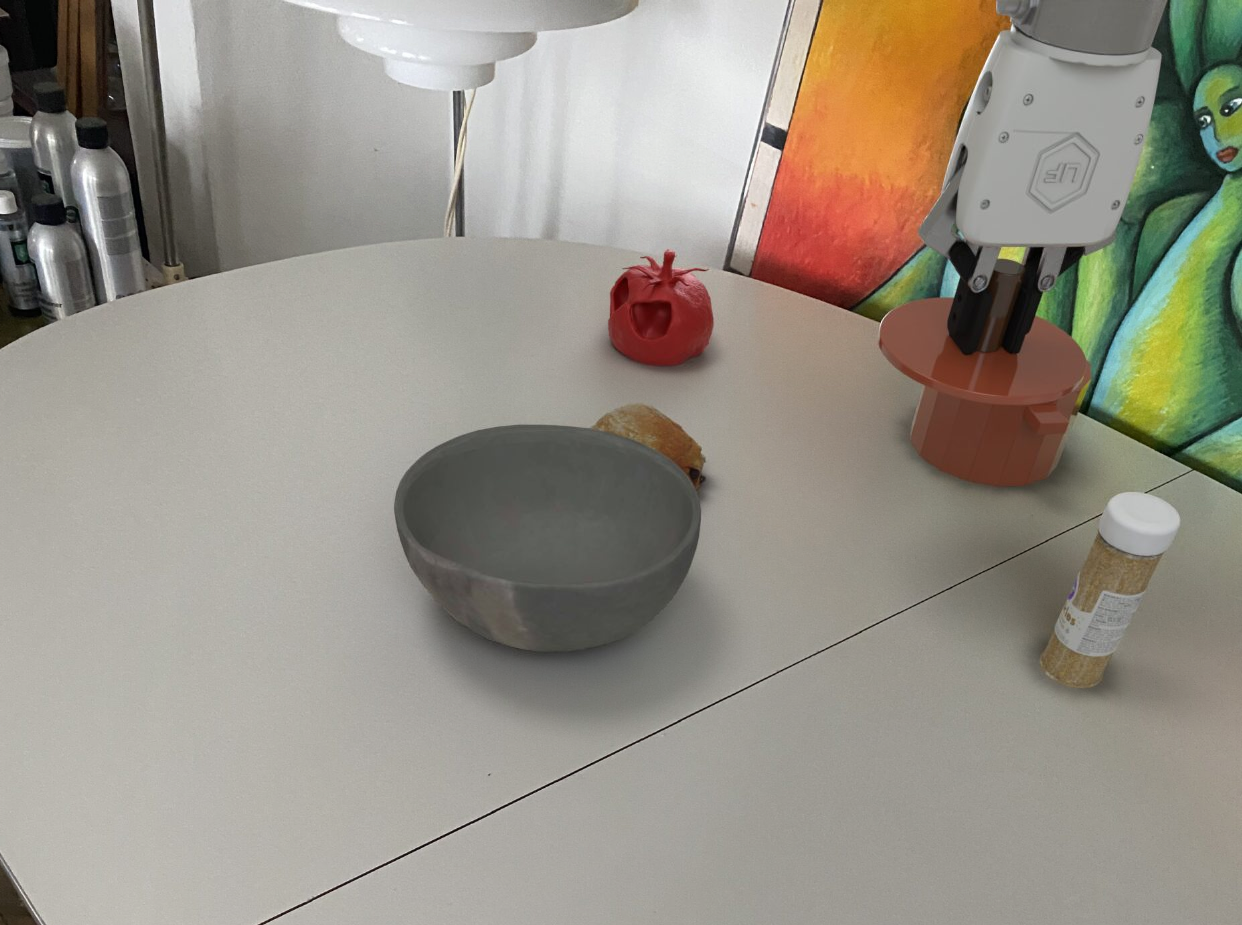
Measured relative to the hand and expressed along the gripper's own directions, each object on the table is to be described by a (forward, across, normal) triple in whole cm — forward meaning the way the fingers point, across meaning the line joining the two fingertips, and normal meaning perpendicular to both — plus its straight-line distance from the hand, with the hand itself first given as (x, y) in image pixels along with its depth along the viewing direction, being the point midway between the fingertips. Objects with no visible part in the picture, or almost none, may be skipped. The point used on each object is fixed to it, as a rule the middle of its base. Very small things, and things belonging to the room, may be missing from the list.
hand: (983, 341), depth 79 cm
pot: (+18, +12, +16) cm, 27 cm away
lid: (+1, 0, 0) cm, 1 cm away
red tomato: (+18, -13, +35) cm, 41 cm away
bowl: (+18, -29, -3) cm, 34 cm away
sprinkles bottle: (+18, +7, -13) cm, 23 cm away
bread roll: (+18, -19, +13) cm, 29 cm away
